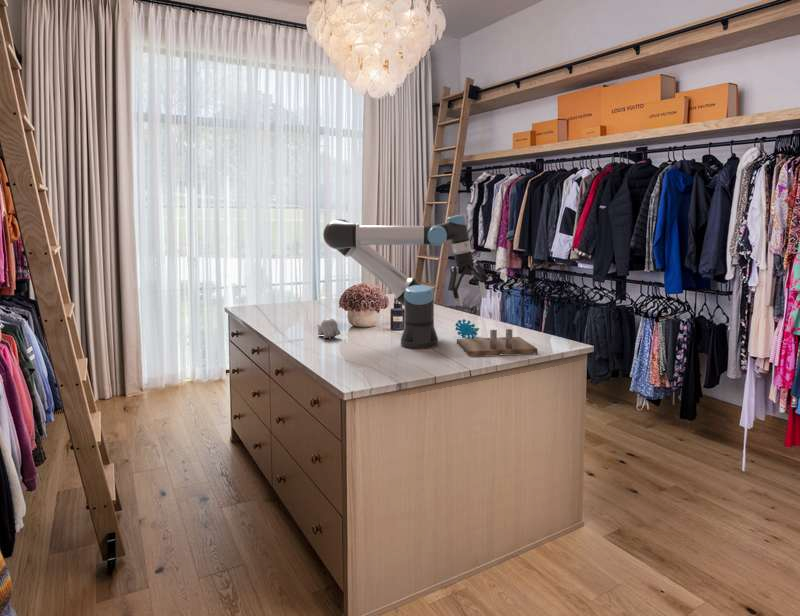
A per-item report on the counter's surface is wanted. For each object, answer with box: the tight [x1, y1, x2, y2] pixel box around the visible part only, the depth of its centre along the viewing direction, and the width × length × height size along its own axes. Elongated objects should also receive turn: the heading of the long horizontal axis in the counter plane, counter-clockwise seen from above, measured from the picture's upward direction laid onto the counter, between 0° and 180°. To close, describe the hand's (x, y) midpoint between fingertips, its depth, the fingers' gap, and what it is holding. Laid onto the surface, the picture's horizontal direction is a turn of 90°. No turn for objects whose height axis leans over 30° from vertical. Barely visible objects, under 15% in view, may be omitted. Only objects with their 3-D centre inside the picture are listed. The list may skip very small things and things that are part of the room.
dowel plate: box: [456, 328, 538, 357], centre depth 232 cm, size 26×22×9 cm
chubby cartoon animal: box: [317, 317, 341, 339], centre depth 258 cm, size 7×12×8 cm, turn 43°
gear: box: [455, 319, 480, 339], centre depth 255 cm, size 11×6×10 cm
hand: (472, 301), depth 253 cm, fingers open, 13 cm apart
